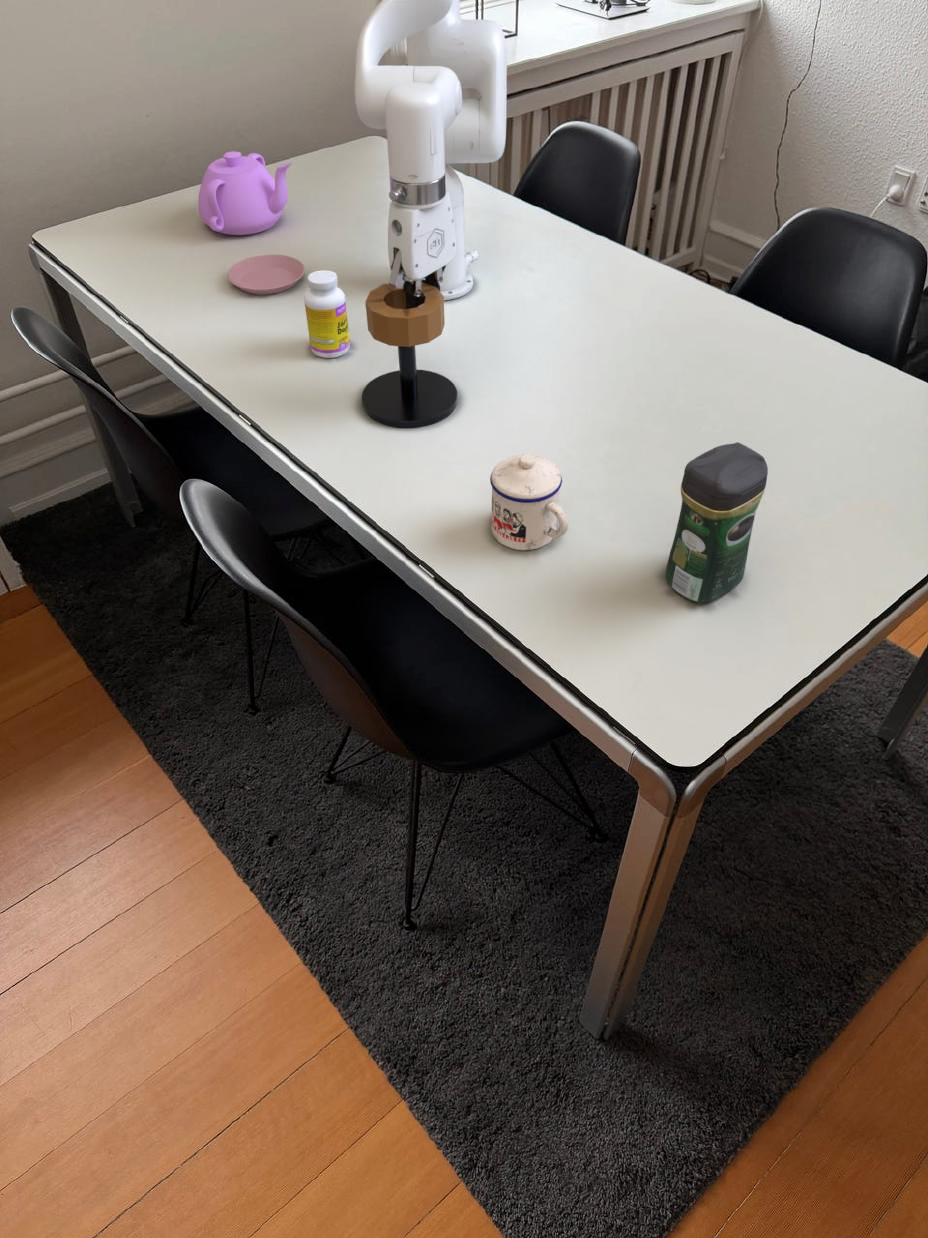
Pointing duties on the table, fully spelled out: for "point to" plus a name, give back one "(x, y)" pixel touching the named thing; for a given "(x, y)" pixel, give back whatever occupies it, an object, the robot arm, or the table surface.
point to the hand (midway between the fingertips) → (423, 311)
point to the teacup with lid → (526, 502)
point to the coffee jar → (715, 521)
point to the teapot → (242, 194)
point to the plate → (266, 274)
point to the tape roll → (404, 316)
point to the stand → (409, 395)
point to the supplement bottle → (326, 315)
